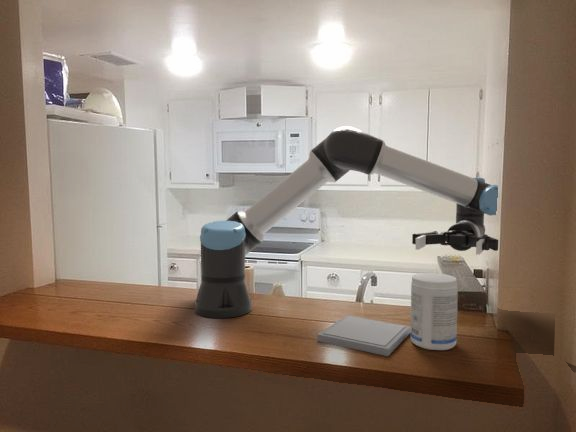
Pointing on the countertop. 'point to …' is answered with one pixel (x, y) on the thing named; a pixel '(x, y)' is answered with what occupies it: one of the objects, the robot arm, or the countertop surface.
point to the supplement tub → (434, 311)
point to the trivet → (365, 335)
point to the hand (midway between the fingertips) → (446, 246)
